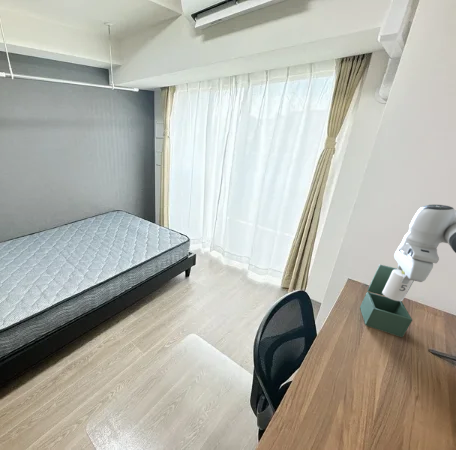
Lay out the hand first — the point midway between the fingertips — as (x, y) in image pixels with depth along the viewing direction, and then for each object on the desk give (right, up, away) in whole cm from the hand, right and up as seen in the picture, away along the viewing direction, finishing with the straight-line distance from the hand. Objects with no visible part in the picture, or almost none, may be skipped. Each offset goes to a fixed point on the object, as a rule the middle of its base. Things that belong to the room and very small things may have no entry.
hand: (401, 279), depth 94 cm
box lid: (+2, -3, +7) cm, 8 cm away
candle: (0, -8, +3) cm, 8 cm away
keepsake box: (-1, -20, +8) cm, 21 cm away
